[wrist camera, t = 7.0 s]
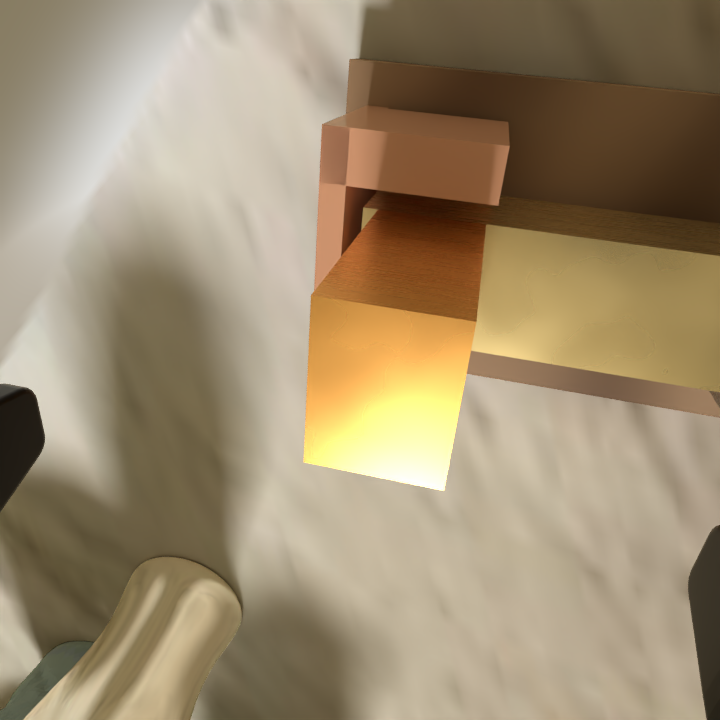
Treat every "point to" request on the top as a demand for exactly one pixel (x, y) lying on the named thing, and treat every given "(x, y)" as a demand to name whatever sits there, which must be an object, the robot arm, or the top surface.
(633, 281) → the wooden blocks
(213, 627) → the beer glass
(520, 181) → the walnut board
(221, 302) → the top surface
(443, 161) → the terracotta socket
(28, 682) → the teal mug
